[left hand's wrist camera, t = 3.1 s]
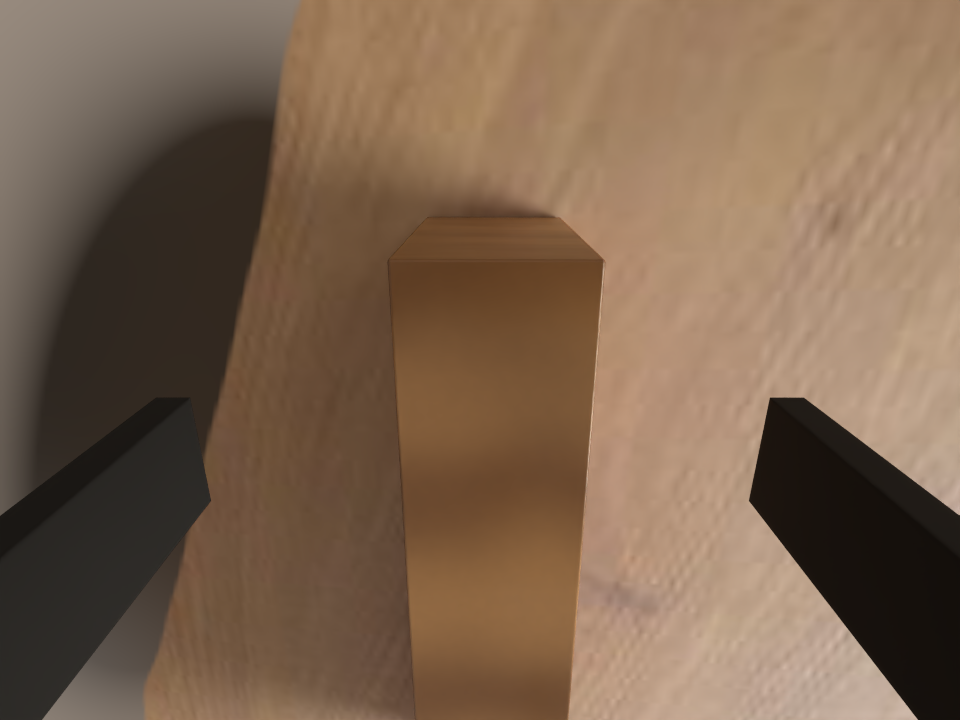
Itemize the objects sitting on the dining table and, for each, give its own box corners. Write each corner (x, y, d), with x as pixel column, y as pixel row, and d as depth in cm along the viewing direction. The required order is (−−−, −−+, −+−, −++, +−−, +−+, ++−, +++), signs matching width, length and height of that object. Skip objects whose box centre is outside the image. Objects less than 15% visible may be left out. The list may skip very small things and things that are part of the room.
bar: (426, 217, 21) (387, 258, 13) (560, 217, 21) (606, 260, 13) (443, 728, 31) (427, 933, 23) (534, 730, 31) (550, 935, 23)
